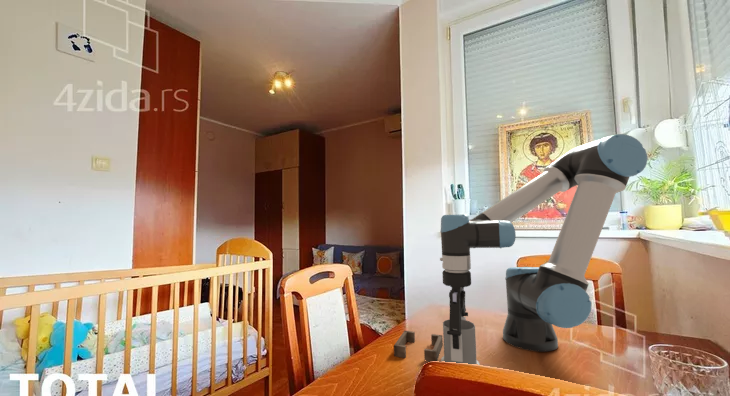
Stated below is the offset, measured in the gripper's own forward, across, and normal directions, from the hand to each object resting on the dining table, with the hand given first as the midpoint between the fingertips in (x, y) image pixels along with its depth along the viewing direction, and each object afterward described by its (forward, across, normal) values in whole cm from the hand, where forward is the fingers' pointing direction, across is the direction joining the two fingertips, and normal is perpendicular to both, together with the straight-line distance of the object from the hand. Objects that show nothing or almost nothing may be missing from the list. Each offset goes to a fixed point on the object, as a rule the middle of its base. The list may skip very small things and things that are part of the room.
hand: (459, 349), depth 81 cm
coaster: (+4, 0, 0) cm, 4 cm away
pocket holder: (+4, -4, -12) cm, 13 cm away
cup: (+4, 0, 0) cm, 4 cm away
